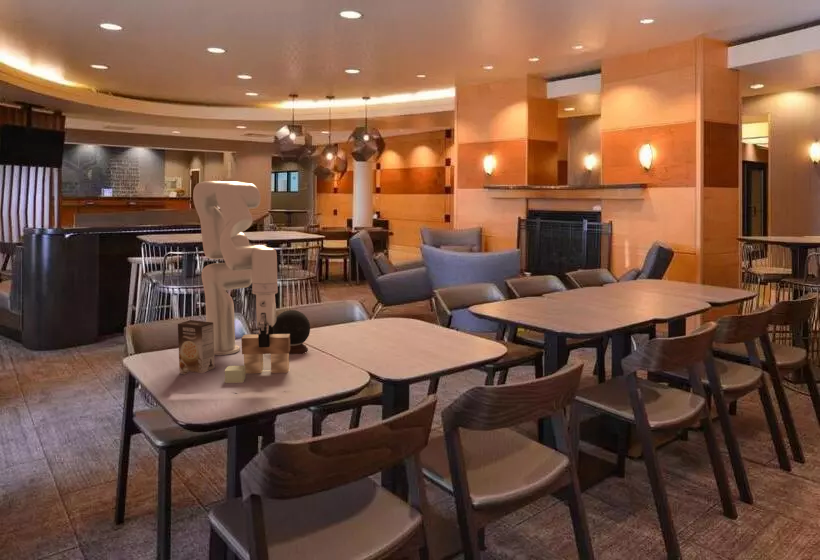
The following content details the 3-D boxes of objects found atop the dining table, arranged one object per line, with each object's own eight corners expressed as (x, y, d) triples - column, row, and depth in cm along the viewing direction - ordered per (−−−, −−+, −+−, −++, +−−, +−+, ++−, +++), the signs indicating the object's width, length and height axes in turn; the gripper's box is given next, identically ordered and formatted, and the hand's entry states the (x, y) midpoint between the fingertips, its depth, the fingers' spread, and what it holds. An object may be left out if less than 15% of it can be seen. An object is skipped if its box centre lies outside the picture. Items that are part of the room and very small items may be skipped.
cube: (225, 387, 176) (224, 370, 175) (228, 382, 181) (228, 365, 180) (242, 386, 176) (242, 370, 176) (245, 381, 181) (245, 365, 181)
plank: (241, 354, 184) (241, 338, 184) (244, 350, 189) (244, 334, 189) (288, 353, 186) (288, 337, 185) (290, 349, 190) (290, 333, 190)
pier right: (271, 372, 186) (270, 353, 185) (273, 368, 191) (272, 349, 190) (287, 372, 186) (287, 353, 185) (289, 368, 191) (288, 349, 190)
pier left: (244, 373, 185) (243, 354, 184) (247, 369, 190) (246, 350, 189) (261, 373, 185) (260, 354, 185) (263, 368, 190) (262, 350, 190)
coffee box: (178, 374, 188) (175, 323, 186) (192, 368, 194) (189, 319, 192) (203, 377, 185) (200, 325, 183) (216, 371, 191) (214, 321, 189)
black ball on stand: (273, 357, 209) (272, 314, 207) (272, 348, 222) (271, 307, 220) (312, 354, 213) (311, 312, 211) (309, 346, 225) (308, 306, 223)
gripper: (274, 292, 177) (275, 349, 179) (280, 284, 194) (281, 336, 196) (247, 292, 176) (249, 350, 178) (256, 284, 193) (258, 337, 195)
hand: (266, 343), depth 187 cm, fingers open, 9 cm apart
